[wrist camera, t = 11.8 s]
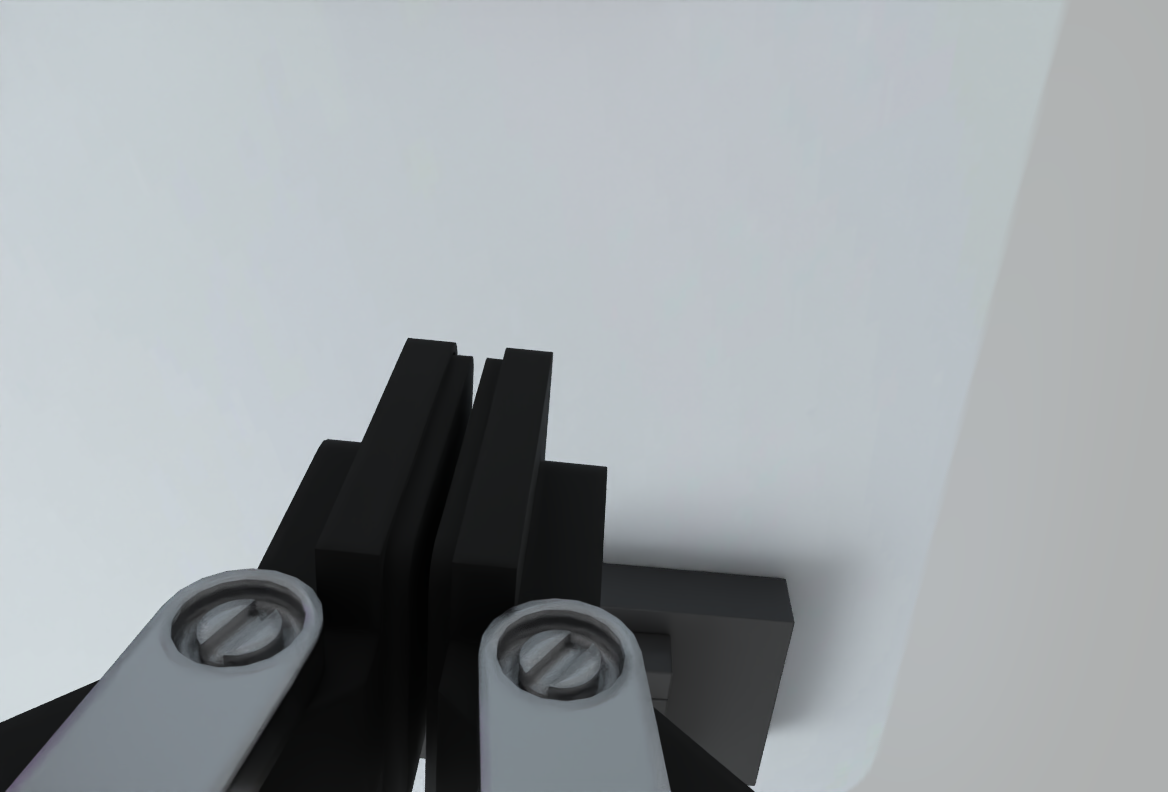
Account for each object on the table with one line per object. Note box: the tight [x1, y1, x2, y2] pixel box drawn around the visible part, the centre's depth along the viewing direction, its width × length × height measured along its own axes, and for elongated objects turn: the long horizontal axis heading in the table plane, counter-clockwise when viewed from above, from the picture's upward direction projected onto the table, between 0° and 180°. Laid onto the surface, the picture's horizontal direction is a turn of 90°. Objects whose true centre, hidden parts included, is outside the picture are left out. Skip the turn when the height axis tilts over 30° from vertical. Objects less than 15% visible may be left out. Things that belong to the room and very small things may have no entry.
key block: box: [420, 564, 794, 786], centre depth 36 cm, size 14×8×4 cm, turn 85°
